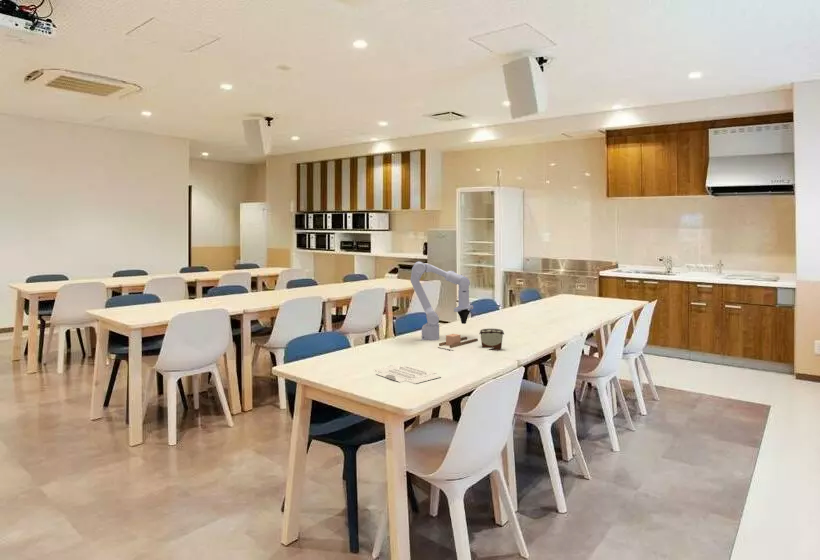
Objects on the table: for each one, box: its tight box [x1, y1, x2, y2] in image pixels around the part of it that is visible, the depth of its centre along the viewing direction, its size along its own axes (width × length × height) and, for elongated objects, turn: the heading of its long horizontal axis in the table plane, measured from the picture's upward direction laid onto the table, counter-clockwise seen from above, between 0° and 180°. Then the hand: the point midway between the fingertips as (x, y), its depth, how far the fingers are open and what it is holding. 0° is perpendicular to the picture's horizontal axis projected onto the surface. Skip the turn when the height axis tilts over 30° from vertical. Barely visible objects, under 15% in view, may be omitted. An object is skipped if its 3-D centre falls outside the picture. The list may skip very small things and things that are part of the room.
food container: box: [478, 328, 505, 351], centre depth 270 cm, size 12×6×10 cm, turn 84°
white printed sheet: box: [374, 364, 441, 385], centre depth 226 cm, size 20×28×4 cm
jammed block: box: [445, 333, 462, 347], centre depth 275 cm, size 5×6×5 cm
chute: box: [437, 336, 479, 352], centre depth 279 cm, size 10×22×2 cm, turn 137°
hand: (463, 323), depth 291 cm, fingers closed
